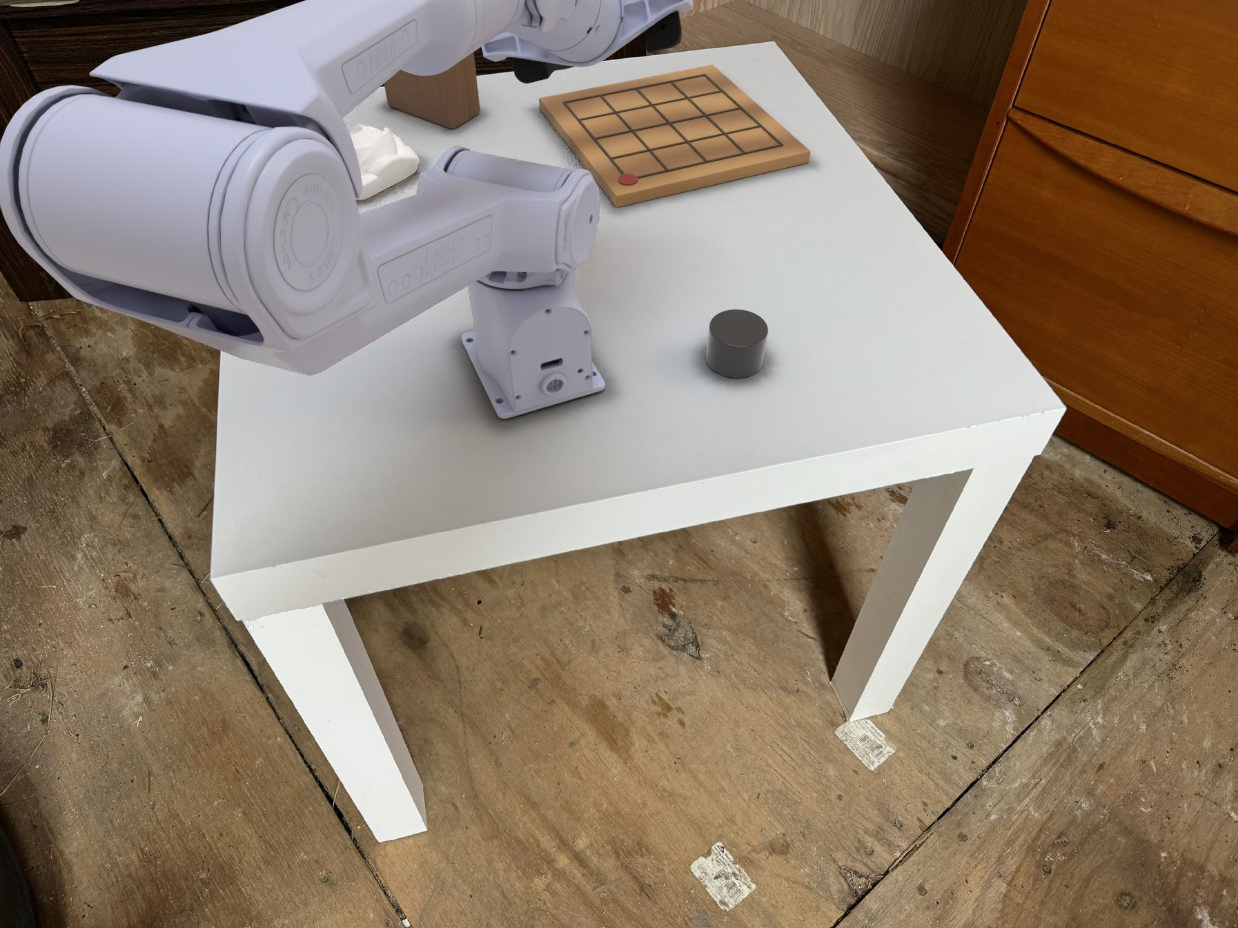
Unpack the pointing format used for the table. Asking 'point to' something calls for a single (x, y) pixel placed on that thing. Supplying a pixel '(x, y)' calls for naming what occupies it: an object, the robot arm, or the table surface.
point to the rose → (381, 159)
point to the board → (670, 134)
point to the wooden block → (437, 94)
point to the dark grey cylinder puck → (736, 343)
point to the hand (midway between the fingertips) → (617, 40)
